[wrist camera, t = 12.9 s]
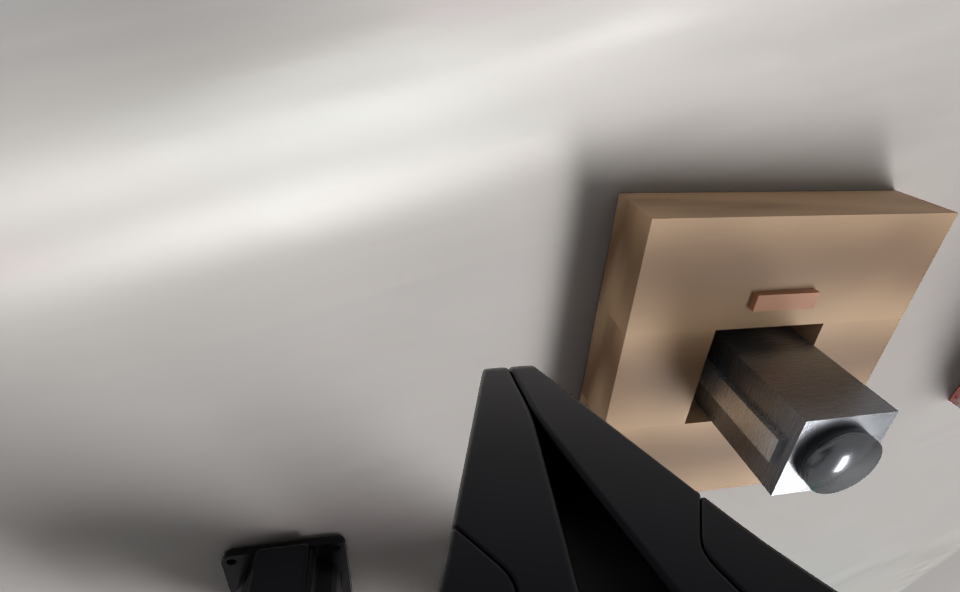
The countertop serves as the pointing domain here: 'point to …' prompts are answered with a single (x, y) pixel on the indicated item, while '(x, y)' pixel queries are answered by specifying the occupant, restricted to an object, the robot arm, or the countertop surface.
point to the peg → (791, 410)
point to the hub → (743, 301)
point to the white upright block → (956, 397)
